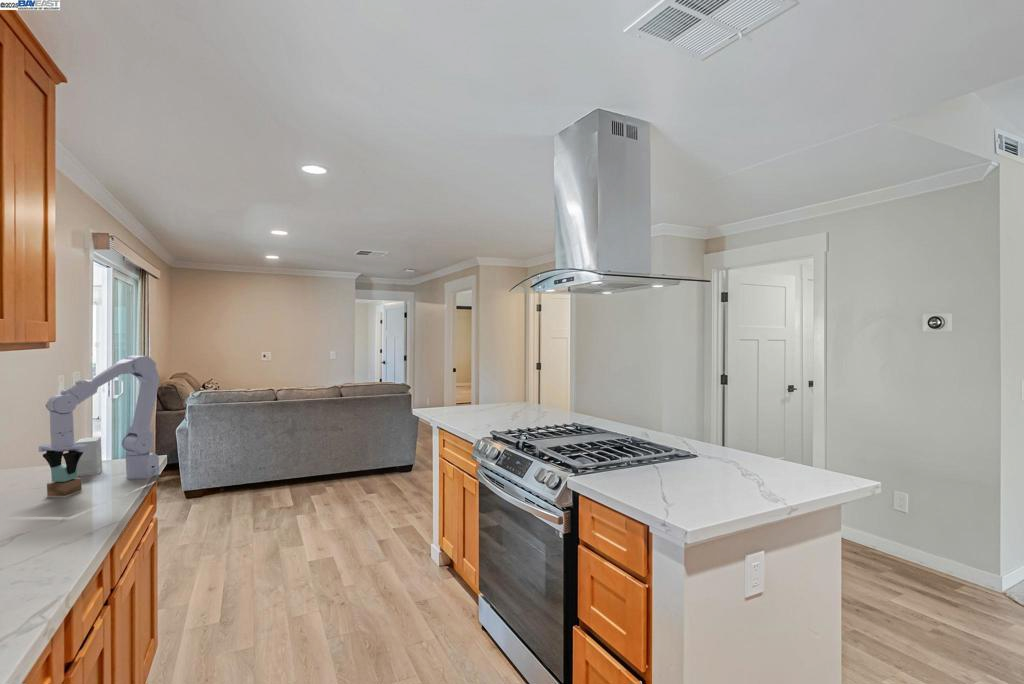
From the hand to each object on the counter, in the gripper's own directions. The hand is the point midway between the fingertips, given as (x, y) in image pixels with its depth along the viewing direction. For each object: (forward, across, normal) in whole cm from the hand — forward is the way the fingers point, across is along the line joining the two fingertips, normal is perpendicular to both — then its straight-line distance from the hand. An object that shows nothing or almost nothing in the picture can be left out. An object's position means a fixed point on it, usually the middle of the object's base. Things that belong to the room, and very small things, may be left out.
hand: (64, 473), depth 169 cm
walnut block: (+6, 0, 0) cm, 6 cm away
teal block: (+2, 0, 0) cm, 2 cm away
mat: (+7, 0, 0) cm, 7 cm away
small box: (+7, -12, +23) cm, 27 cm away
